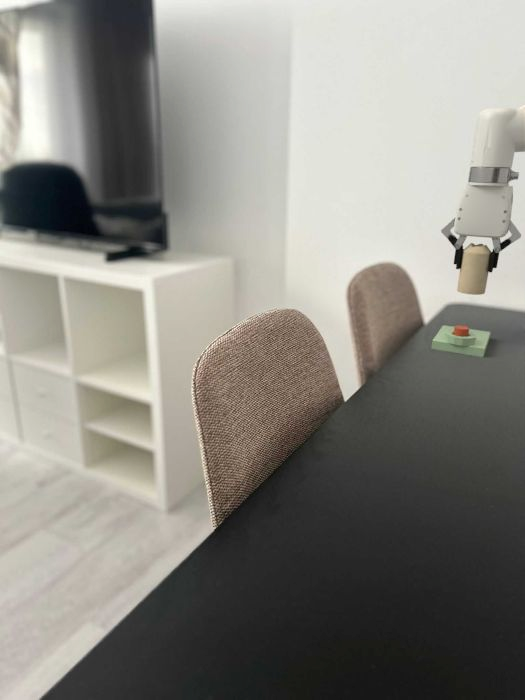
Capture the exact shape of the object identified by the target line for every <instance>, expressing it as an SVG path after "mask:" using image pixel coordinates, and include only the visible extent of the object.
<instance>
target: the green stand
mask: <svg viewBox="0 0 525 700" xmlns="http://www.w3.org/2000/svg"><path fill="white" fill-rule="evenodd" d="M454 327H455V326H450V325H446V324H445V325H444V324H443V325H442V326H441V328H440V329H439V331H438V332H437V333H436V335H435V336H434V337H433V339H432V342H431V350H437V351H443V352H447V353H448V352H449V353H454V354H461V355H468V356H471V357H472V356H474V357H478V358H484V357H485V354H486V351H487V348H488V345H489V342H490V338H491V331H486V330H480V329H472V328H469V333H468V336H467V337H461V336H456V335H453V334H454Z"/></svg>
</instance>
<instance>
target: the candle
mask: <svg viewBox="0 0 525 700" xmlns="http://www.w3.org/2000/svg"><path fill="white" fill-rule="evenodd" d="M463 249H464V250H463V254H462V260H461V267H460V269H459V275H458V279H457V288H456V291H457V292H458V293H460V294H465V295H473V296H474V295H477V296H478V295H480V296H481V295H484V294H485V293H486V289H487V284H488V277H489V272H488V268H489V262H490V256H491V252H492V250H491V249H490V248H489V247H488V245H487V244H483V243H478V244H475V243H473V242H470V243H469V244H468V245H467V246H466V247H465V248H463Z"/></svg>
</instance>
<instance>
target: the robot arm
mask: <svg viewBox="0 0 525 700" xmlns="http://www.w3.org/2000/svg"><path fill="white" fill-rule="evenodd" d="M515 153H525V104H524V105H522V106H520V107H519V108H517V109H516V108H512V107H491V108H486V109H483V110H481V111H480V112H479V114H478V115H477V119H476V125H475V132H474V139H473V145H472V152H471V159H470V165H469V171H468V178H467V184H463V187H462V189H461V193H460V196H459V200H458V204H457V209H456V214H455V216H454V218H453V219H451V220H450V221H449V222H447V224H446V225H445V226H443V228H441V230H440V232H441V233H442V235H443V236H444V237H445V238H446V239H447V240H448V242H449V243H450V244H451V245H452V247H453V249H455V251H454V258H453V265H456V266H455V270H460V267H461V260H462V254H463V250H464V249H465V248H464V243H465V242H466V239H467V237H474V238H475V237H476V238H490V239H491V241H492V246H493V248H492V251H491V256H490V262H489V268H488V273H491V274H492V273H493V270H494V269H497V267H498V262H499V257H500V252H502V251H503V250H505V249H506V248H507V247H508V246H510V245H511V244H513V243H514V242H516V241H518V240H519V239H521V238H522V233H521V232H520V230H519V229H518V228H517V227H516V225H515V224H514V223H513V221H512V219H511V218H512V212H513V204H514V203H513V201H514V185H510V182H512V181H515V180H519V176H520V171H519V172H518V171H515V170H513V169H512V168H513V162H514V158H515ZM452 229H453V232H454V234H456V235H458V238H457V237H456V235H454V234H453V232H452ZM509 232H510V234H511V236H509V237H507V238H506V239H504V240H503V241H501V238H504V237H506V236H507V234H508V233H509Z"/></svg>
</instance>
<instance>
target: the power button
mask: <svg viewBox="0 0 525 700" xmlns="http://www.w3.org/2000/svg"><path fill="white" fill-rule="evenodd" d="M453 327H454V334H453V335H456V336H461V337H467V336H468V333H469V329H470V327H469V326H466V325H454V326H453Z"/></svg>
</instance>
